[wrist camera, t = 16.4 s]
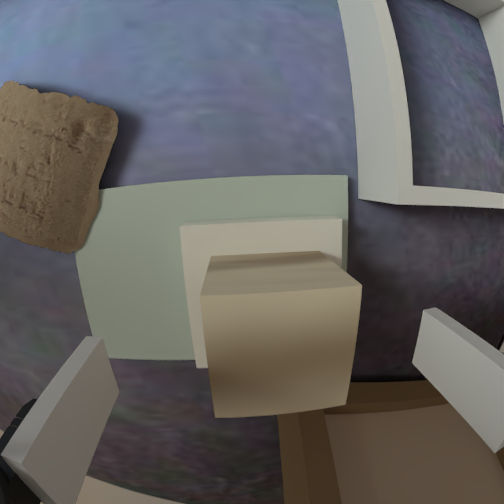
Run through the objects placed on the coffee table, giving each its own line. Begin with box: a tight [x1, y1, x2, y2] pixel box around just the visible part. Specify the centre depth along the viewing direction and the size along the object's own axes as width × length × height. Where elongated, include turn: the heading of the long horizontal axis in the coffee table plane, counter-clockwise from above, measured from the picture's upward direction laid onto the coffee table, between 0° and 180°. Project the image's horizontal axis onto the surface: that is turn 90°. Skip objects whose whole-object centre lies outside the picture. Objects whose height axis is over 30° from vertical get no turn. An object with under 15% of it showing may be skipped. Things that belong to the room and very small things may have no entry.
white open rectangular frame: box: [338, 0, 504, 209], centre depth 14 cm, size 18×21×5 cm
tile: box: [179, 216, 342, 368], centre depth 18 cm, size 2×9×9 cm
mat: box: [75, 175, 348, 360], centre depth 18 cm, size 18×12×1 cm, turn 92°
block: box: [200, 251, 362, 418], centre depth 14 cm, size 6×6×6 cm
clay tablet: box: [0, 80, 119, 254], centre depth 14 cm, size 14×10×3 cm
